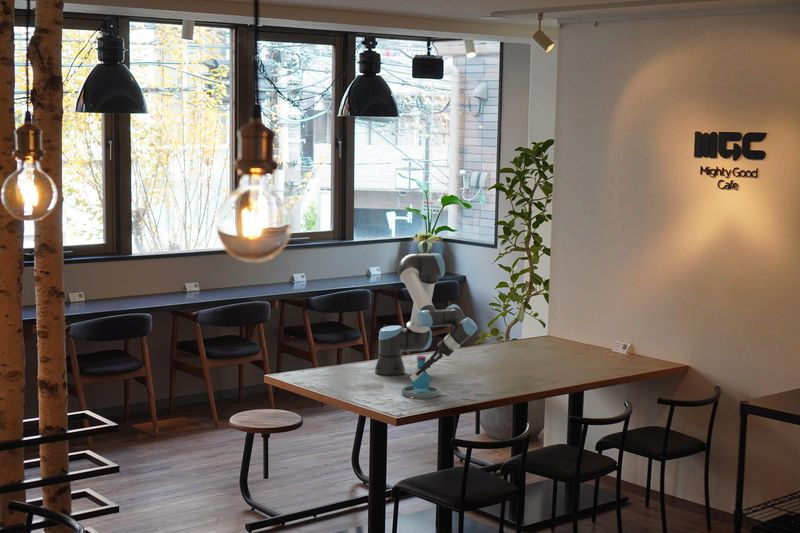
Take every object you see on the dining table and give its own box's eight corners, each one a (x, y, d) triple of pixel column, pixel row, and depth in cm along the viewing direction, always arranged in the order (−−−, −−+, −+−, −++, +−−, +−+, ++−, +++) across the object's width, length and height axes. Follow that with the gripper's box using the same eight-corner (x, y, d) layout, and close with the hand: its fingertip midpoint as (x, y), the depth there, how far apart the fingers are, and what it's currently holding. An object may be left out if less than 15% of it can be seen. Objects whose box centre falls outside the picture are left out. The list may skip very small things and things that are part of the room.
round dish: (398, 397, 469) (398, 392, 468) (406, 388, 486) (406, 383, 485) (435, 399, 465) (435, 394, 465) (442, 391, 482) (442, 386, 482)
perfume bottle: (424, 391, 469) (424, 359, 467) (407, 389, 474) (407, 357, 472) (434, 388, 476) (435, 356, 475) (417, 385, 481) (417, 353, 480)
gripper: (450, 355, 459) (414, 388, 464) (458, 346, 480) (424, 378, 485) (438, 343, 460) (403, 376, 465) (447, 334, 480) (413, 366, 486)
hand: (414, 377), depth 475 cm, fingers closed on perfume bottle, 9 cm apart
